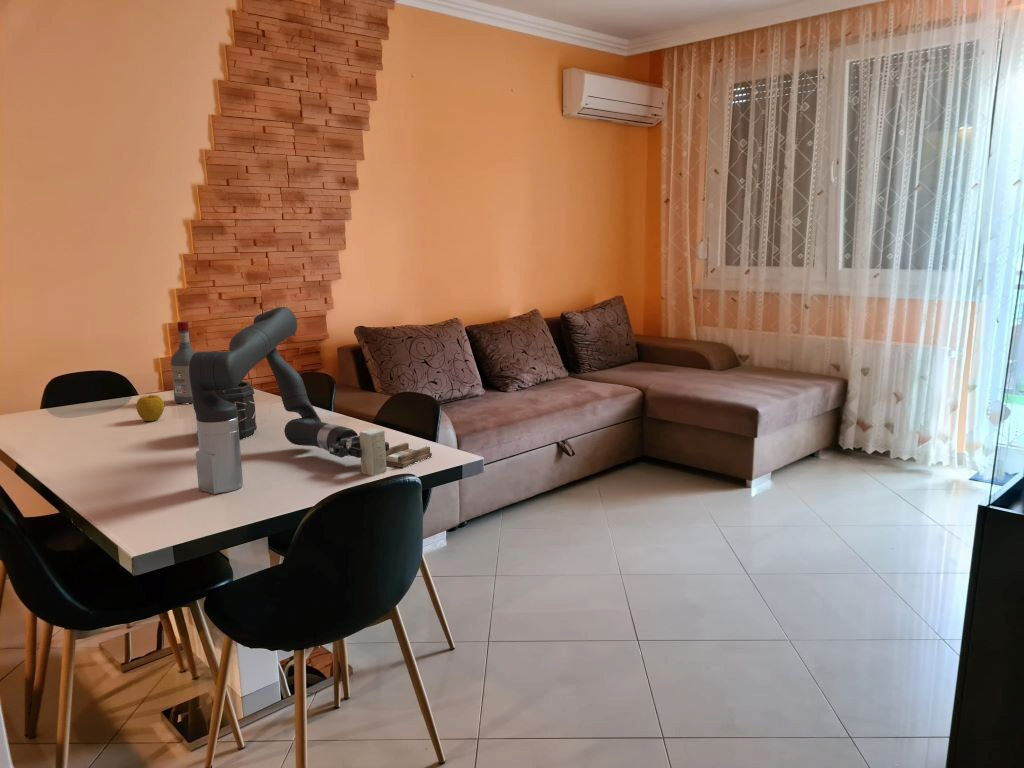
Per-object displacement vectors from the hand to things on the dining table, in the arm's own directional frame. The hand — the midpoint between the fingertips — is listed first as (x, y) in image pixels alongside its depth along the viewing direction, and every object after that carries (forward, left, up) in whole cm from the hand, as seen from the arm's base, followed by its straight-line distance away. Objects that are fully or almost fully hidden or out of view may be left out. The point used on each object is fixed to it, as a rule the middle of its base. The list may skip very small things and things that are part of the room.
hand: (374, 450), depth 190 cm
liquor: (+30, +122, -6) cm, 126 cm away
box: (0, +1, -6) cm, 6 cm away
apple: (+4, +105, -6) cm, 105 cm away
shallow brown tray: (+13, +2, -6) cm, 14 cm away
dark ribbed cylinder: (+5, +66, -6) cm, 66 cm away
